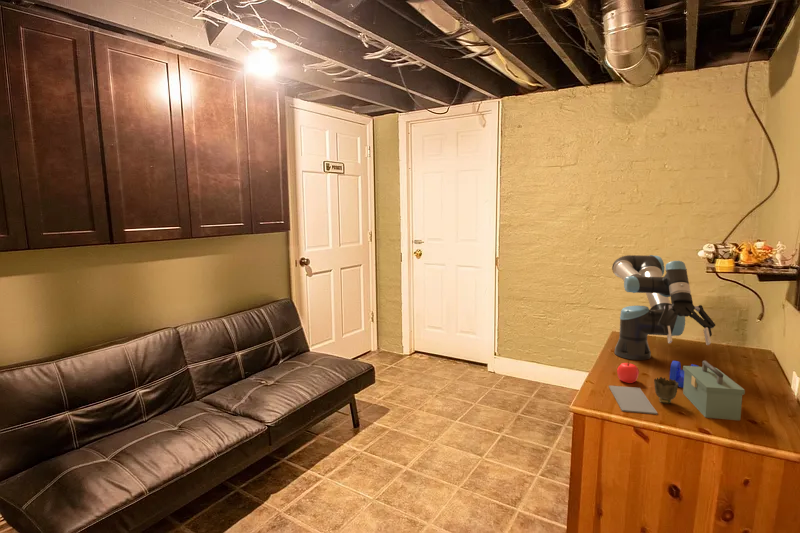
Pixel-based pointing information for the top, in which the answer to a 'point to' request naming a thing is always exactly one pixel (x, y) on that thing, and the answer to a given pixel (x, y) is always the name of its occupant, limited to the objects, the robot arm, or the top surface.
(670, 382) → the cup
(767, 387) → the top surface
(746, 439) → the top surface
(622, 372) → the apple
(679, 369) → the bracket
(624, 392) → the rubber mat
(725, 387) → the toolbox
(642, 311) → the robot arm
